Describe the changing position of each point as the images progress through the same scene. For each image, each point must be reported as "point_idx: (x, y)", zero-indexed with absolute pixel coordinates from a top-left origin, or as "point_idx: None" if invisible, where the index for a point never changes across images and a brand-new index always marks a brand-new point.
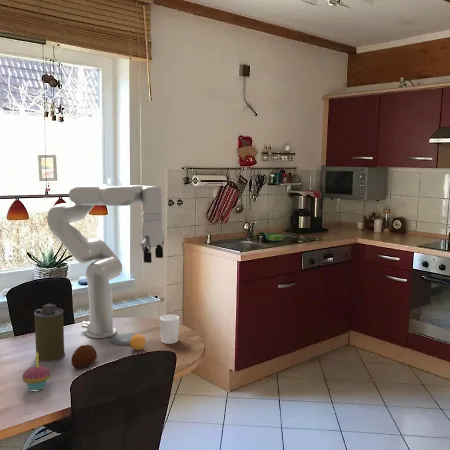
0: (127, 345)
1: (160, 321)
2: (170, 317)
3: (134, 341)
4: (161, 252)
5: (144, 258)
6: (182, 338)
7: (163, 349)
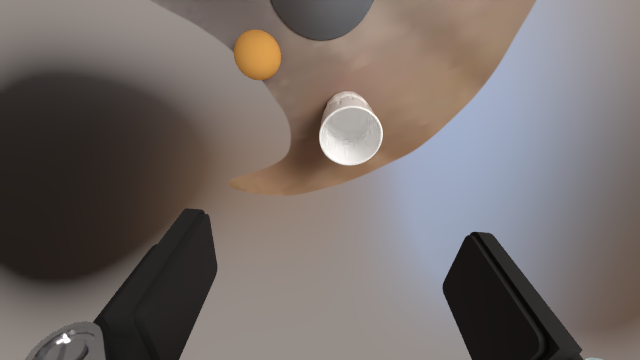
0: (274, 6)
1: (329, 112)
2: (377, 127)
3: (234, 56)
4: (466, 342)
5: (144, 257)
6: None
7: (288, 118)
